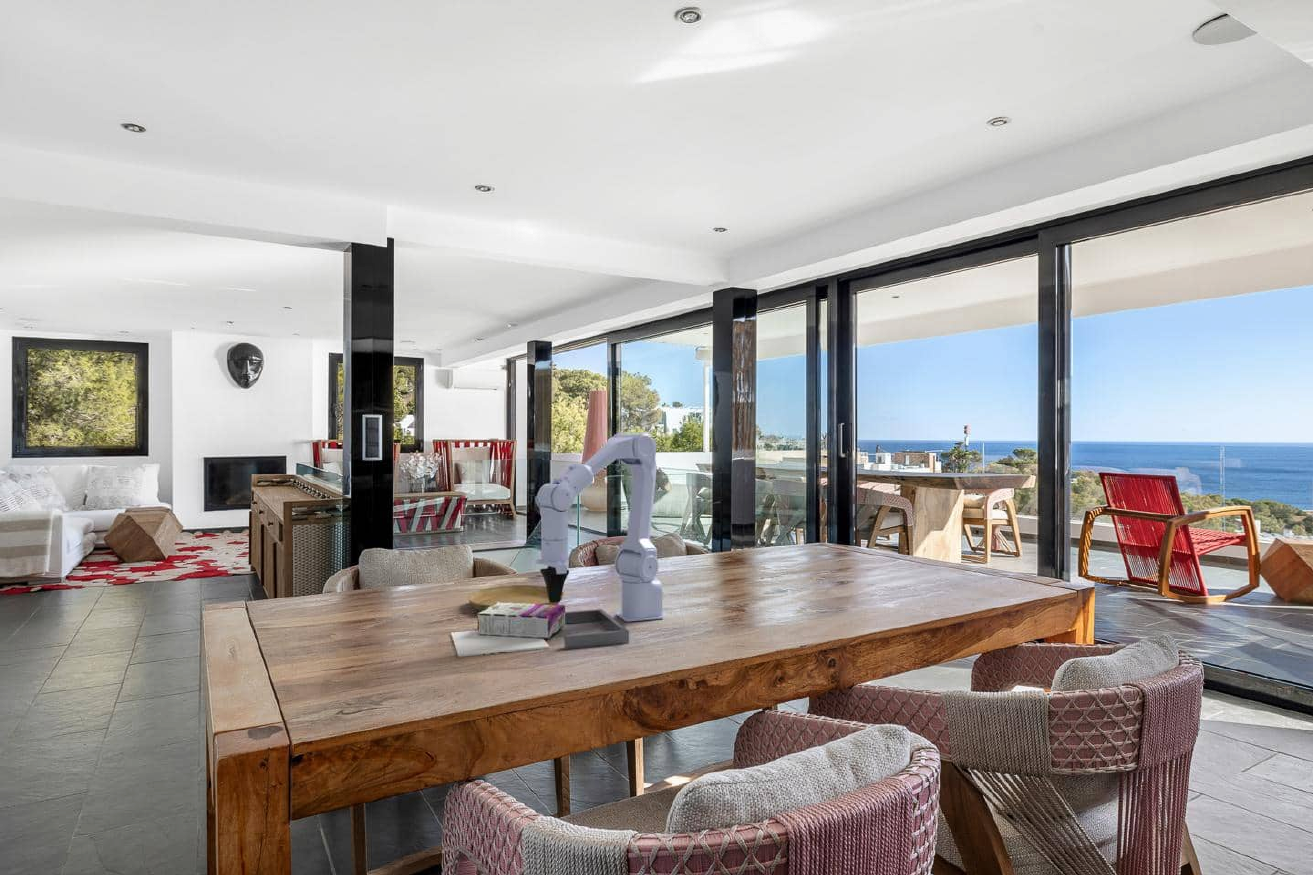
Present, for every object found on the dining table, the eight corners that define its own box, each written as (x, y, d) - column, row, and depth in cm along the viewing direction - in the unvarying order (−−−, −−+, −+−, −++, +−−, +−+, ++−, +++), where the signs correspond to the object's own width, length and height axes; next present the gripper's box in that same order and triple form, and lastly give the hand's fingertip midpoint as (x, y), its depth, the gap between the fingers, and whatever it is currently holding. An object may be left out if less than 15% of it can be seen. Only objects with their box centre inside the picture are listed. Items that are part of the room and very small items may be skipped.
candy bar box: (566, 626, 169) (498, 622, 173) (566, 604, 169) (498, 600, 173) (548, 640, 158) (476, 635, 162) (548, 616, 158) (476, 612, 162)
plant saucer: (544, 620, 178) (544, 606, 178) (450, 615, 182) (450, 602, 182) (576, 599, 201) (576, 586, 201) (491, 595, 206) (491, 583, 206)
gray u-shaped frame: (601, 619, 177) (601, 608, 177) (628, 642, 157) (628, 630, 157) (544, 624, 173) (544, 613, 173) (565, 649, 153) (565, 636, 153)
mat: (533, 627, 170) (533, 625, 170) (549, 648, 153) (549, 646, 153) (450, 634, 164) (450, 632, 164) (458, 656, 147) (458, 654, 147)
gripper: (530, 535, 168) (530, 596, 168) (542, 544, 155) (542, 610, 155) (561, 534, 171) (561, 594, 171) (576, 542, 157) (576, 607, 157)
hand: (554, 601), depth 163 cm, fingers closed
